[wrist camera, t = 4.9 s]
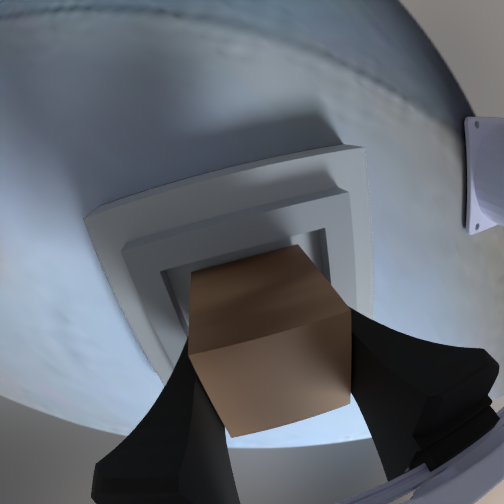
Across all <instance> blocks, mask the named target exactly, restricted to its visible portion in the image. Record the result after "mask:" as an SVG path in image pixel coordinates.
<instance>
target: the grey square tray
mask: <svg viewBox="0 0 504 504" xmlns="http://www.w3.org/2000/svg"><path fill="white" fill-rule="evenodd" d="M84 222H85V225H86V228H87V230H88V233H89V236H90V238H91V241H92V243H93V246H94V248H95V251H96V253H97V256H98V258H99V261H100V263H101V265H102V268H103V270H104V272H105V275H106V277H107V279H108V281H109V284H110V286H111V288H112V290H113V292H114V294H115V297H116V299H117V301H118V303H119V305H120V307H121V309H122V311H123V313H124V315H125V317H126V319H127V321H128V323H129V325H130V327H131V329H132V331H133V332H134V334H135V336H136V338H137V340H138V342H139V344H140V345H141V347H142V349H143V351H144V353H145V354H146V356H147V358H148V360H149V361H150V363H151V365H152V366H153V368H154V370H155V371H156V373H157V375H158V376H159V378H160V380H161V381H162V383H163V385H164V386H165V385H166V383H167V381H168V379H169V378H170V376H171V374H172V372H173V369H174V367H175V365H176V363H177V361H178V359H179V357H180V354H181V352H182V350H183V347H184V345H185V342H186V340H187V337H188V335H189V305H190V283H191V272H193V271H197V270H201V269H205V268H209V267H212V266H216V265H220V264H224V263H228V262H232V261H235V260H239V259H243V258H247V257H251V256H254V255H258V254H262V253H266V252H270V251H273V250H277V249H281V248H285V247H289V246H292V245H296V244H298V245H299V246H300V247H301V248H302V250H303V251H304V252H305V253H306V255H307V256H308V257H309V258H310V259H311V261H312V262H313V263H314V264H315V266H316V267H317V268H318V269H319V270H320V272H321V273H322V274H323V275H324V277H325V278H326V279H327V280H328V282H329V283H330V284H331V285H332V287H333V288H334V289H335V290H336V292H337V293H338V294H339V295H340V297H341V298H342V299H343V301H344V302H345V303H346V304H347V306H349V307H351V308H352V309H354V310H356V311H357V312H359V313H361V314H363V315H364V316H366V317H368V318H370V319H372V320H373V302H374V267H373V236H372V218H371V204H370V193H369V182H368V173H367V164H366V156H365V149H364V147H360V146H353V145H346V144H342V145H336V146H330V147H324V148H318V149H313V150H307V151H302V152H297V153H291V154H286V155H282V156H277V157H272V158H267V159H263V160H258V161H254V162H249V163H245V164H241V165H237V166H233V167H228V168H224V169H220V170H217V171H213V172H209V173H205V174H201V175H198V176H194V177H190V178H187V179H183V180H180V181H176V182H173V183H169V184H166V185H163V186H159V187H156V188H153V189H150V190H146V191H143V192H140V193H137V194H134V195H131V196H128V197H125V198H122V199H119V200H116V201H113V202H110V203H107V204H104V205H101V206H99V207H97V208H96V209H95V210H93V211H92V212H91V213H90V214H88V215H87V216H86V217H85V218H84Z"/></svg>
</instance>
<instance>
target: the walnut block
mask: <svg viewBox="0 0 504 504" xmlns="http://www.w3.org/2000/svg"><path fill="white" fill-rule="evenodd" d="M351 352H352V337H351V309H350V308H349V307H348V306H347V304H346V303H345V302H344V301H343V299H342V298H341V297H340V295H339V294H338V293H337V292H336V290H335V289H334V288H333V287H332V285H331V284H330V283H329V282H328V280H327V279H326V278H325V277H324V275H323V274H322V273H321V272H320V270H319V269H318V268H317V267H316V266H315V264H314V263H313V262H312V261H311V259H310V258H309V257H308V256H307V255H306V253H305V252H304V251H303V250H302V248H301V247H300V246H299V245H298V244H296V245H292V246H289V247H285V248H281V249H277V250H273V251H270V252H266V253H262V254H258V255H254V256H251V257H247V258H243V259H239V260H235V261H232V262H228V263H224V264H220V265H216V266H212V267H209V268H205V269H201V270H197V271H193V272H191V283H190V305H189V335H188V356H189V358H190V360H191V362H192V365H193V367H194V369H195V371H196V373H197V375H198V377H199V379H200V381H201V383H202V385H203V387H204V389H205V390H206V392H207V394H208V396H209V398H210V400H211V402H212V404H213V406H214V408H215V409H216V411H217V413H218V415H219V417H220V418H221V420H222V422H223V424H224V426H225V427H226V429H227V431H228V433H229V434H230V436H231V438H233V437H238V436H243V435H247V434H252V433H256V432H260V431H264V430H268V429H272V428H276V427H280V426H284V425H287V424H291V423H294V422H297V421H301V420H304V419H307V418H310V417H314V416H317V415H320V414H323V413H326V412H328V411H331V410H334V409H337V408H340V407H342V406H345V405H348V404H350V394H351Z"/></svg>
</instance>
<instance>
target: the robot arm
mask: <svg viewBox="0 0 504 504" xmlns="http://www.w3.org/2000/svg"><path fill="white" fill-rule="evenodd" d="M464 126H465V137H466V152H467V216H466V232H467V233H468V234H470V235H473V234H476V233H478V232H481V231H483V230H486V229H488V228H490V227H493V226H495V225H498V224H499V225H501V226H503V227H504V118H495V117H494V118H493V117H466V118H465V121H464ZM348 307H349V306H348ZM349 308H350V309H351V337H352V352H351V393H352V395H353V397H354V398H355V400H356V402H357V404H358V406H359V408H360V411H361V413H362V415H363V417H364V419H365V422H366V424H367V426H368V429H369V431H370V434H371V436H372V438H373V441H374V443H375V446H376V449H377V451H378V454H379V457H380V459H381V462H382V465H383V468H384V471H385V474H386V477H387V480H388V482H386V483H384V484H382V485H380V486H378V487H375V488H373V489H371V490H368V491H366V492H364V493H361V494H359V495H356V496H353V497H351V498H348V499H345V500H343V501H340V502H337V503H334V504H388V503H390V502H392V501H394V500H396V499H398V498H400V497H402V496H404V495H406V494H408V493H410V492H412V491H414V490H415V491H414V493H413V496H412V497H411V498H410V499H409V500H407V501H405V502H403V503H401V504H474V503H475V502H477V501H478V500H479V499H480V498H482V497H483V496H484V495H485V494H487V493H488V492H489V491H490V490H492V489H493V488H494V487H495V486H496V485H497V484H499V483H500V482H501V481H502V480H503V479H504V407H503V408H502V409H501V410H499V411H498V412H497V413H496V412H495V411H494V410H493V409H492V408H491V406H490V405H491V403H492V400H491V399H490V397H489V396H488V393H489V392H490V390H491V388H492V386H493V384H494V382H495V380H496V378H497V376H498V373H499V364H498V363H497V362H496V361H495V360H494V359H493V358H492V357H491V356H490V355H489V354H488V353H487V352H486V351H485V350H484V349H480V348H464V347H455V346H449V345H443V344H438V343H433V342H429V341H425V340H422V339H418V338H415V337H412V336H409V335H406V334H403V333H401V332H398V331H395V330H393V329H391V328H388V327H386V326H384V325H382V324H380V323H378V322H376V321H374V320H372V319H370V318H368V317H366V316H364V315H363V314H361V313H359V312H357V311H356V310H354V309H352V308H351V307H349ZM419 487H420V488H419ZM416 489H417V490H416ZM91 498H92V499H93V500H94V502H95V503H96V504H240V501H239V497H238V493H237V489H236V485H235V481H234V477H233V473H232V468H231V464H230V459H229V454H228V449H227V444H226V436H225V426H224V424H223V422H222V420H221V418H220V417H219V415H218V413H217V411H216V409H215V408H214V406H213V404H212V402H211V400H210V398H209V396H208V394H207V392H206V390H205V389H204V387H203V385H202V383H201V381H200V379H199V377H198V375H197V373H196V371H195V369H194V367H193V365H192V362H191V360H190V358H189V356H188V337H187V340H186V342H185V345H184V347H183V350H182V352H181V354H180V357H179V359H178V361H177V363H176V365H175V367H174V369H173V372H172V374H171V376H170V378H169V379H168V381H167V383H166V385H165V387H164V389H163V390H162V392H161V394H160V395H159V397H158V399H157V400H156V402H155V403H154V405H153V406H152V408H151V409H150V410H149V412H148V413H147V414H146V416H145V417H144V418H143V419H142V421H141V422H140V423H139V424H138V425H137V427H136V428H135V429H134V430H133V431H132V432H131V433H130V434H129V435H128V436H127V438H126V439H124V440H123V442H121V443H120V444H119V445H118V446H117V447H116V448H115V449H114V450H113V451H111V452H110V453H109V454H108V455H106V456H105V457H104V458H103V459H102V460H100V461H99V462H98V463H96V465H95V470H94V476H93V483H92V492H91Z"/></svg>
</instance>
